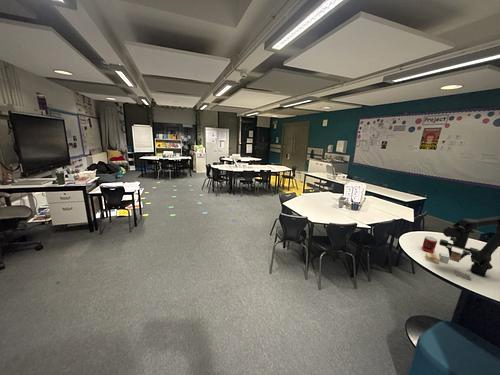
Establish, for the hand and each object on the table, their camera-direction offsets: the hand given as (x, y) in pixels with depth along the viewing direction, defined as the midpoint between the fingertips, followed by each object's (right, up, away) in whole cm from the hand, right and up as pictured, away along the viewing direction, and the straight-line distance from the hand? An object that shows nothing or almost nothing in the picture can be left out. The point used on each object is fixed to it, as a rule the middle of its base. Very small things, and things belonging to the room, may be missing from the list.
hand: (454, 258), depth 138 cm
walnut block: (0, -1, 0) cm, 1 cm away
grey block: (+5, -7, +14) cm, 16 cm away
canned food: (+6, -3, +27) cm, 28 cm away
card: (+3, -11, -2) cm, 12 cm away
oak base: (-3, -7, +14) cm, 16 cm away
